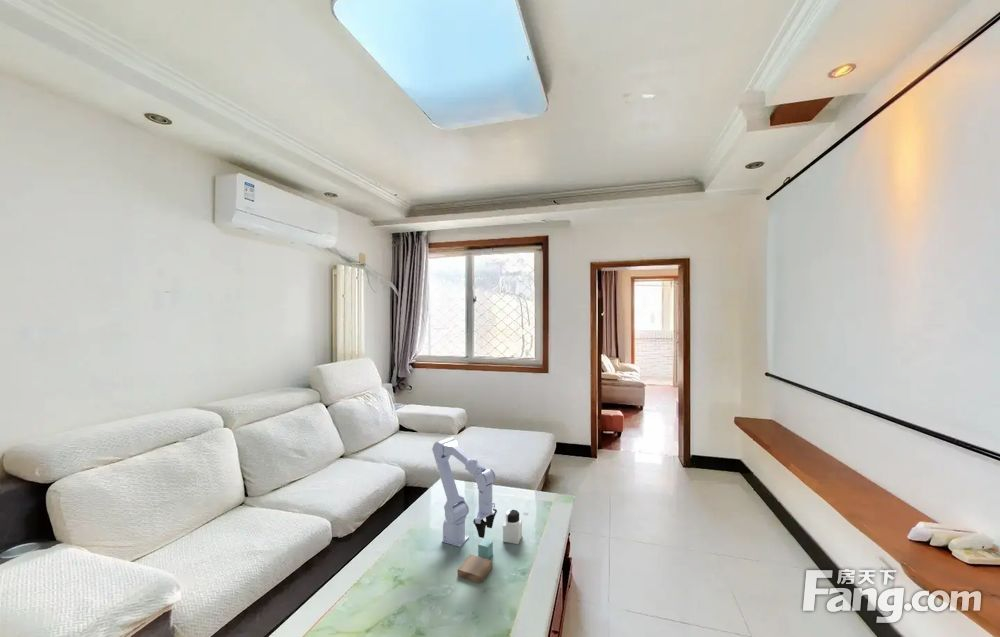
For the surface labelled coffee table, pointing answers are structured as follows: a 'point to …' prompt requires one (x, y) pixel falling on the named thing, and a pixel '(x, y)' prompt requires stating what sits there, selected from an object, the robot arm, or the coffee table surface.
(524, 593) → the coffee table surface
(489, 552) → the teal block
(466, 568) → the walnut slab
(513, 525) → the medicine bottle
